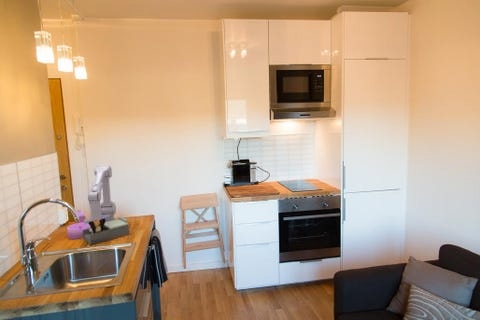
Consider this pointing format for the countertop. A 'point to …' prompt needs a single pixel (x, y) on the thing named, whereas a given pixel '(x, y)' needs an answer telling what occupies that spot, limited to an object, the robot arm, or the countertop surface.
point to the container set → (77, 227)
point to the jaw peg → (98, 228)
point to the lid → (116, 223)
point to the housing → (104, 234)
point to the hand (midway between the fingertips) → (98, 232)
